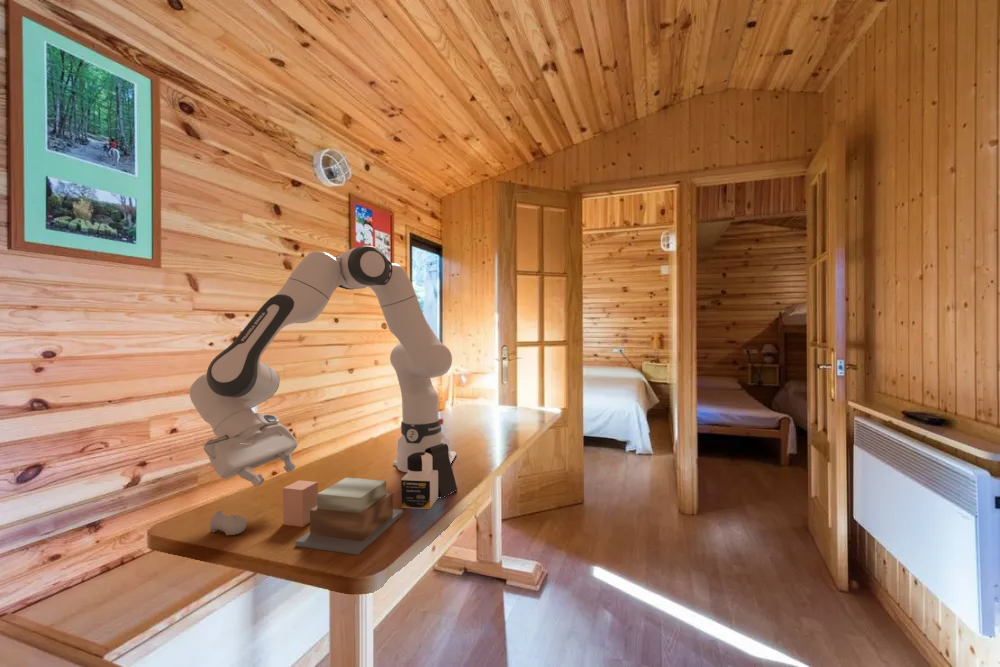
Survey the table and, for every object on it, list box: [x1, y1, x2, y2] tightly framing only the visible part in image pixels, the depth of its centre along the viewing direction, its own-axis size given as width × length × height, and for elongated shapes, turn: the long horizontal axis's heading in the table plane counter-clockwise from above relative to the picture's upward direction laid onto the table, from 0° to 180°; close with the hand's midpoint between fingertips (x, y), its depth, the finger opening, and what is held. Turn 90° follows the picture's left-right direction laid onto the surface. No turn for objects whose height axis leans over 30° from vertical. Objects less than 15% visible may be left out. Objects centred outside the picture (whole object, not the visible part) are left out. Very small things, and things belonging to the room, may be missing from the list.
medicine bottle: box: [400, 452, 439, 510], centre depth 104 cm, size 7×7×12 cm
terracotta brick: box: [282, 479, 319, 528], centre depth 95 cm, size 5×5×8 cm
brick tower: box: [309, 476, 394, 541], centre depth 91 cm, size 12×12×8 cm
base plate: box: [295, 508, 404, 555], centre depth 91 cm, size 18×14×1 cm
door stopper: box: [425, 443, 458, 499], centre depth 111 cm, size 9×6×12 cm, turn 54°
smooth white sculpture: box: [209, 510, 248, 536], centre depth 90 cm, size 4×8×5 cm
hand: (276, 476), depth 97 cm, fingers open, 8 cm apart
